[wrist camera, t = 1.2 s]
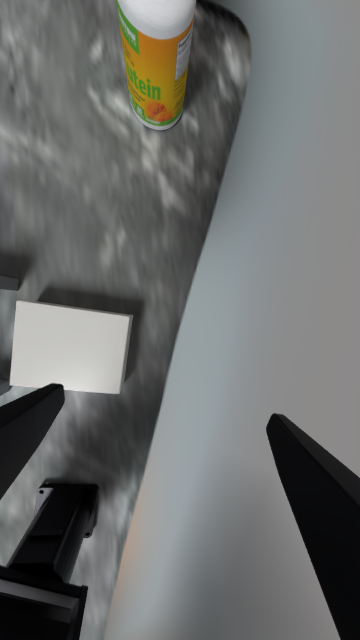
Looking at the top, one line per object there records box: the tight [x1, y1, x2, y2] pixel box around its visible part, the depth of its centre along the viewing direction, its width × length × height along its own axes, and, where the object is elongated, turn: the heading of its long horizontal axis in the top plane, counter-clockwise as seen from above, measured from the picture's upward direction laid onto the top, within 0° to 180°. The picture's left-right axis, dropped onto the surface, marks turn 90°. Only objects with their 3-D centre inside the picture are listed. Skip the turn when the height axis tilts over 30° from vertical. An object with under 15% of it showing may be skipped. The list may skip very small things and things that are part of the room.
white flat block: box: [10, 301, 133, 394], centre depth 18 cm, size 8×10×2 cm
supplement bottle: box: [116, 0, 196, 130], centre depth 13 cm, size 5×5×10 cm
